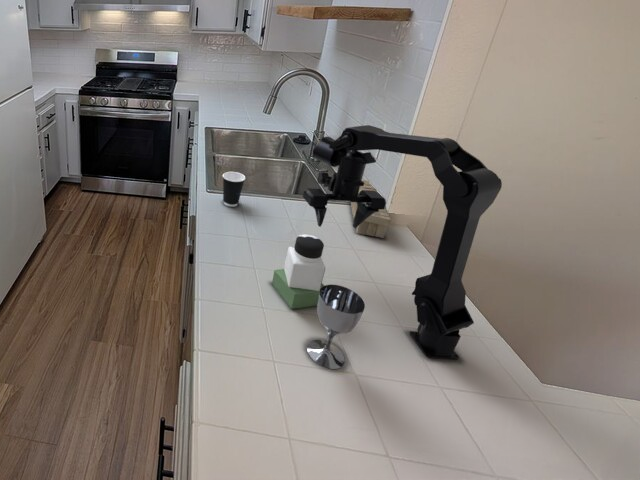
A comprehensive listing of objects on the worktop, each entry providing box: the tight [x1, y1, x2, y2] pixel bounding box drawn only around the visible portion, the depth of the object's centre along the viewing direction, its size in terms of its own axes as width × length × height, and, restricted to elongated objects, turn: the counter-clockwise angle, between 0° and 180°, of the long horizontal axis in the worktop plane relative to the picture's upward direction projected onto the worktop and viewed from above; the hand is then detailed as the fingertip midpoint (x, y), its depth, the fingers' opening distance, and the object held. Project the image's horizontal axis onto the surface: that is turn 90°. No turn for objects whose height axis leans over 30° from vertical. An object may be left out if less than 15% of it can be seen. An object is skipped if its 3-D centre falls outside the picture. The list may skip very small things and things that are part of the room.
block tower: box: [350, 179, 392, 239], centre depth 131 cm, size 8×8×29 cm
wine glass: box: [306, 284, 366, 370], centre depth 78 cm, size 8×8×15 cm
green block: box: [271, 268, 325, 310], centre depth 96 cm, size 9×9×4 cm
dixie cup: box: [222, 171, 246, 208], centre depth 138 cm, size 8×8×11 cm
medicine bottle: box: [283, 233, 327, 291], centre depth 93 cm, size 7×7×12 cm
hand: (336, 226), depth 103 cm, fingers open, 9 cm apart
